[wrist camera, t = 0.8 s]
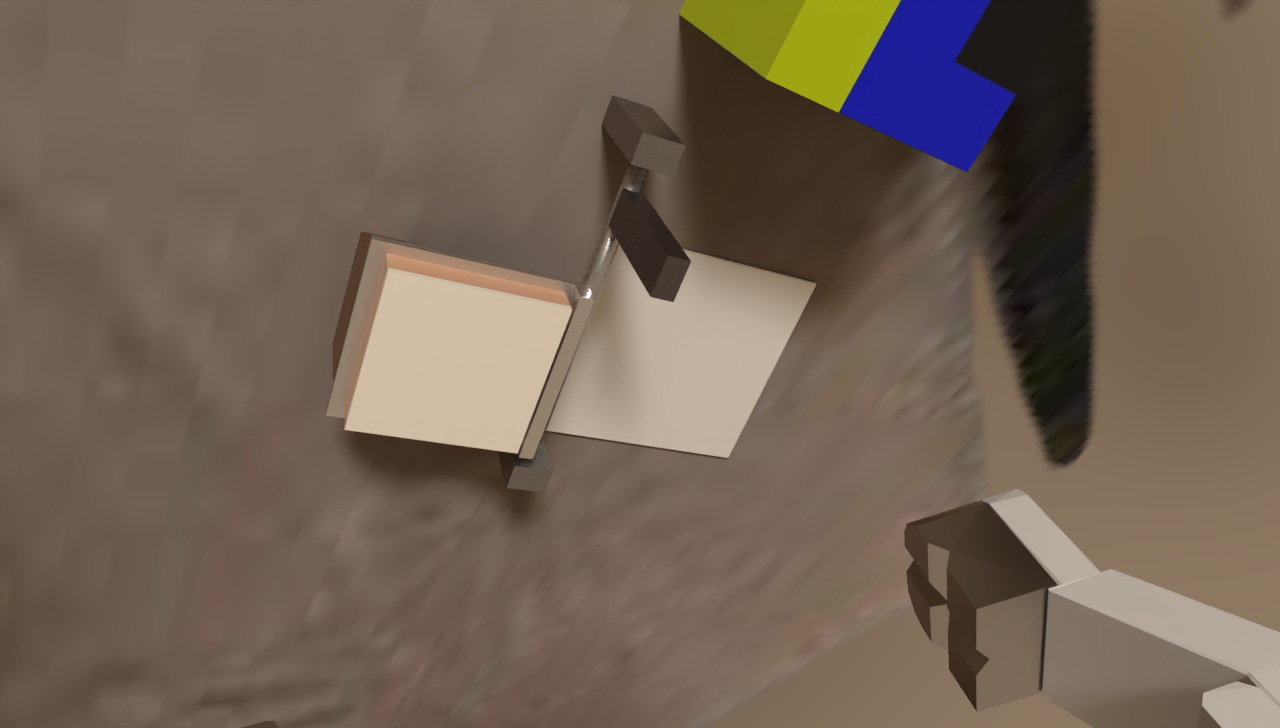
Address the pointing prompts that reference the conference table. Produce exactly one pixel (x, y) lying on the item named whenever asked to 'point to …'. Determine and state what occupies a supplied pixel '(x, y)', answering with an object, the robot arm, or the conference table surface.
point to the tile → (454, 356)
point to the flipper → (626, 226)
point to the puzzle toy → (894, 59)
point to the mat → (679, 356)
